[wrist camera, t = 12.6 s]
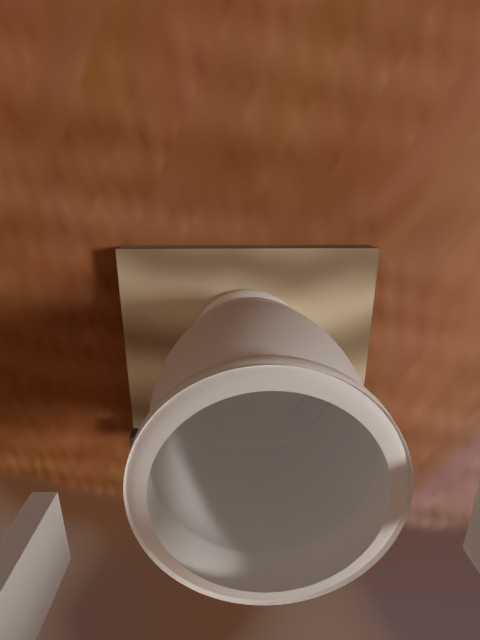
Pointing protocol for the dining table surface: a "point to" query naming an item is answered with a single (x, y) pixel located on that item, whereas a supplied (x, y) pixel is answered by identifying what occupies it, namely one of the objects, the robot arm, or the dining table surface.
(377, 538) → the jar
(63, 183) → the dining table surface
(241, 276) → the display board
